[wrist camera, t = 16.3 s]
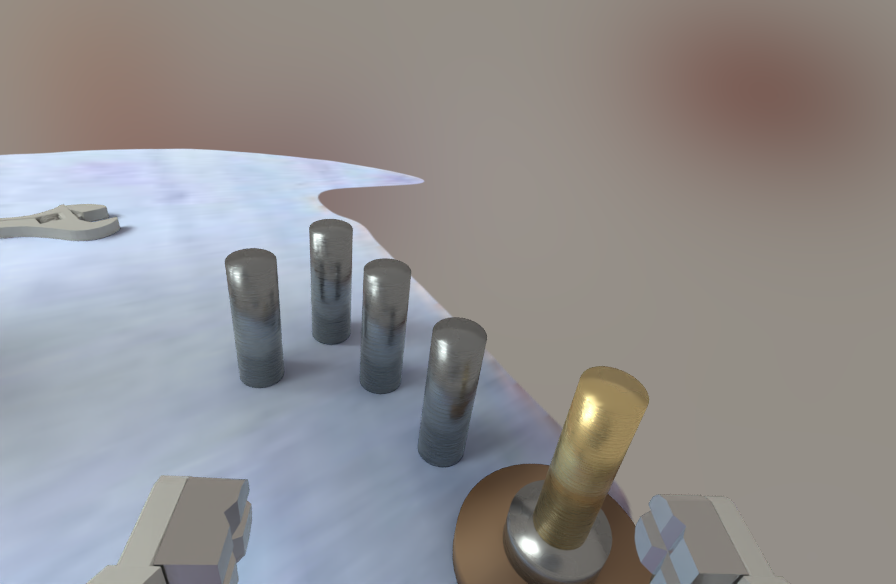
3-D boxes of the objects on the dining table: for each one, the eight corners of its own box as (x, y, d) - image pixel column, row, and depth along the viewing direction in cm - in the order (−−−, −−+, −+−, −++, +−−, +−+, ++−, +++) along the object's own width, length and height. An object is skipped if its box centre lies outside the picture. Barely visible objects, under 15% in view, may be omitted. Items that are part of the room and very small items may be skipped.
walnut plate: (412, 557, 29) (414, 541, 29) (523, 451, 37) (527, 436, 36) (582, 726, 24) (591, 713, 23) (673, 560, 31) (682, 546, 30)
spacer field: (465, 467, 35) (490, 352, 29) (205, 458, 33) (179, 334, 28) (452, 328, 48) (467, 230, 42) (263, 316, 46) (253, 212, 40)
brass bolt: (482, 543, 29) (526, 384, 22) (537, 484, 33) (588, 333, 26) (569, 620, 26) (648, 464, 20) (618, 545, 30) (698, 393, 23)
